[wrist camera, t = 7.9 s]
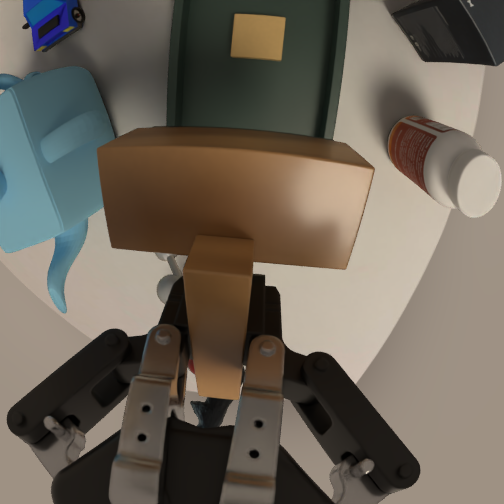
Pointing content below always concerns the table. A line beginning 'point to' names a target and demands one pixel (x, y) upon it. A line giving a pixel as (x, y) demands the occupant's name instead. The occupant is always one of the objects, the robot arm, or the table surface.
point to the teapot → (50, 164)
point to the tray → (257, 67)
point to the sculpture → (212, 409)
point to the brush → (231, 219)
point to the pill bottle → (445, 164)
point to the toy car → (51, 21)
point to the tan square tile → (258, 37)
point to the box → (455, 30)
